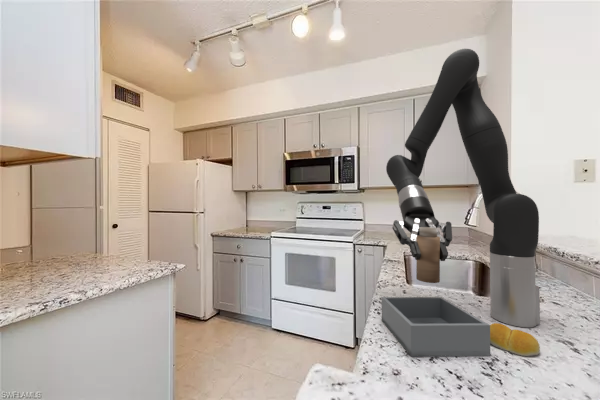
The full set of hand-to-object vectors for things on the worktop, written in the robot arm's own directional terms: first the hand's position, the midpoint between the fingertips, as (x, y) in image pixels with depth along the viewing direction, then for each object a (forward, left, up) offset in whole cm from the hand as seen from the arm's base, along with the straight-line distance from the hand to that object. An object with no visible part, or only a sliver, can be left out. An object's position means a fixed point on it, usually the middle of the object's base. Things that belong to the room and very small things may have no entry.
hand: (431, 258), depth 57 cm
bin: (0, -2, -18) cm, 18 cm away
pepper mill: (0, -2, -5) cm, 6 cm away
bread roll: (-16, +2, -18) cm, 24 cm away
